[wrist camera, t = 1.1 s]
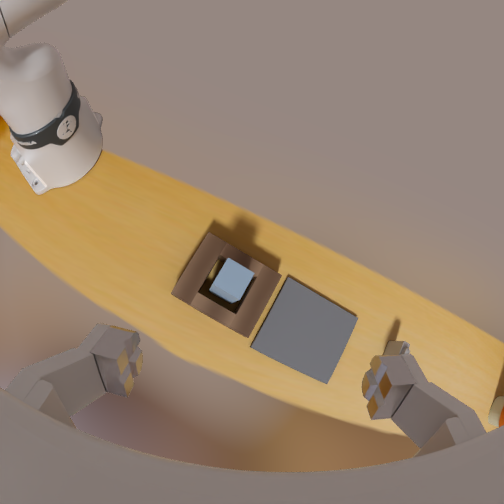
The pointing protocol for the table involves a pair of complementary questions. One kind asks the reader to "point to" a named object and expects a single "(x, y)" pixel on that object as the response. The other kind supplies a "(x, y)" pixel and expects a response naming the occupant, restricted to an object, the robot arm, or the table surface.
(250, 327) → the pocket holder
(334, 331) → the rubber mat
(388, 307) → the table surface
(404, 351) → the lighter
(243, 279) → the peg
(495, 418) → the reusable coffee cup
